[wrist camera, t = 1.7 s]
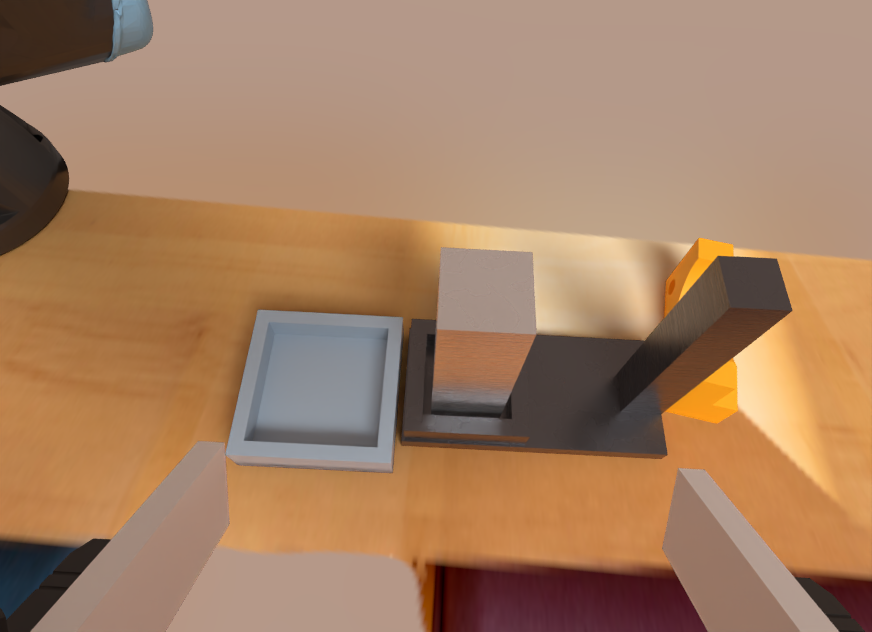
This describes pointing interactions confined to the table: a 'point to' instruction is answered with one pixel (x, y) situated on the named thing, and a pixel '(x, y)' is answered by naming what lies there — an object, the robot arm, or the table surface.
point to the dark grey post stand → (607, 373)
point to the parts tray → (319, 392)
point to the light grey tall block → (481, 330)
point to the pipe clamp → (720, 388)
